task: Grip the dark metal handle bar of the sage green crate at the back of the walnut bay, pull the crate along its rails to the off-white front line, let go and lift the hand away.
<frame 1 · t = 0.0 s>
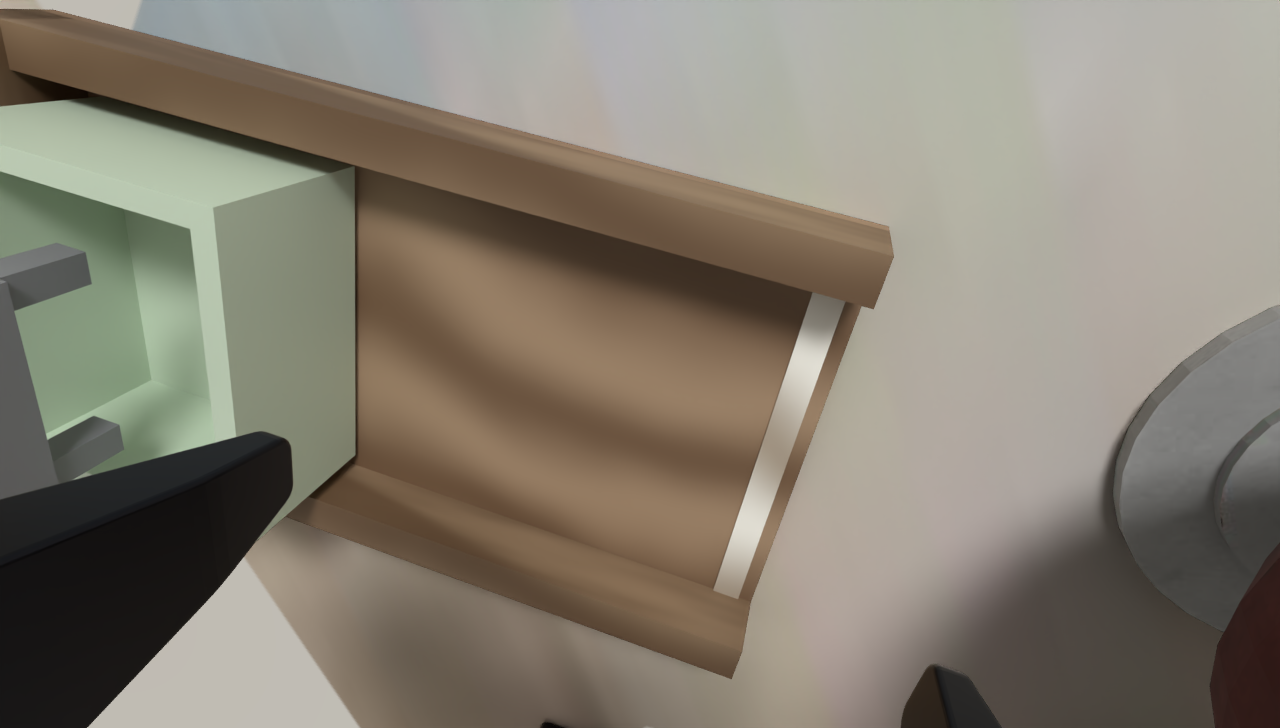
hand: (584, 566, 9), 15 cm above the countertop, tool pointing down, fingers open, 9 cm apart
bay: (391, 325, 27), on the countertop
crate: (121, 340, 23), point 6 cm above the countertop, slide at 15.0 cm
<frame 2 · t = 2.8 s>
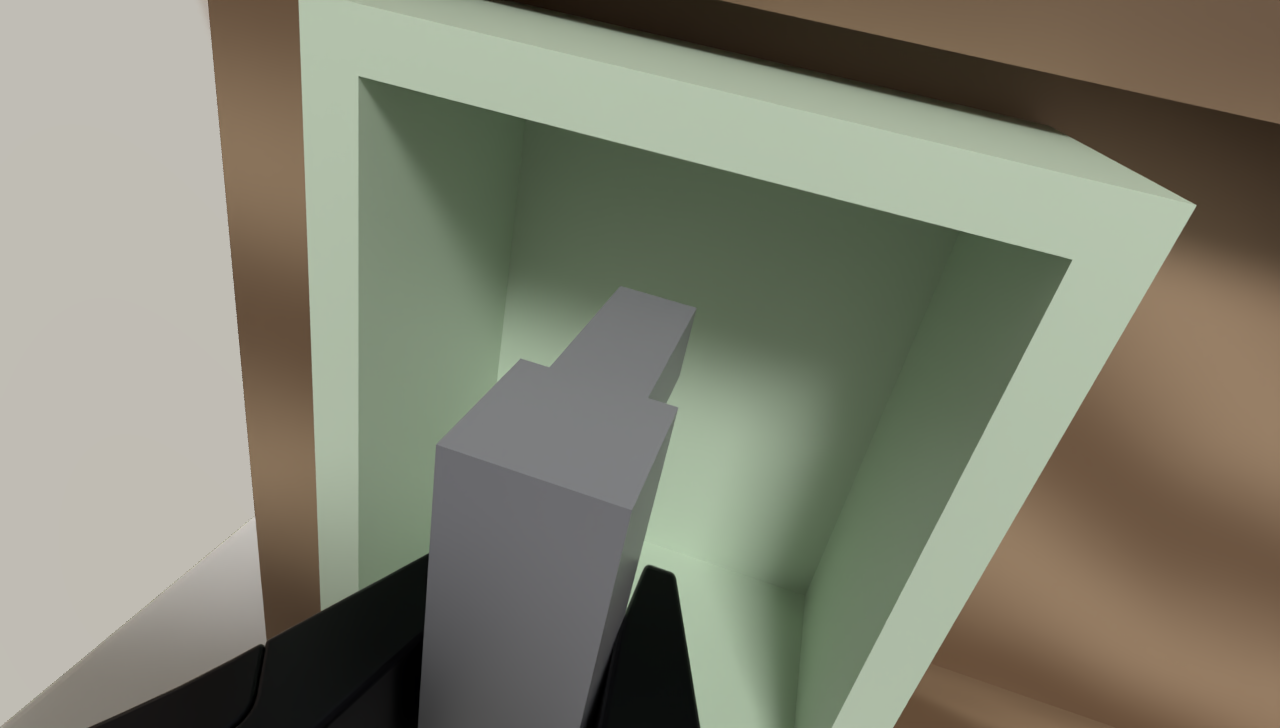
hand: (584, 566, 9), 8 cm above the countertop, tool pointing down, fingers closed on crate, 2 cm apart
milk carton: (332, 604, 25), on the countertop
bay: (960, 410, 16), on the countertop
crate: (629, 473, 11), point 6 cm above the countertop, slide at 15.0 cm, touching gripper
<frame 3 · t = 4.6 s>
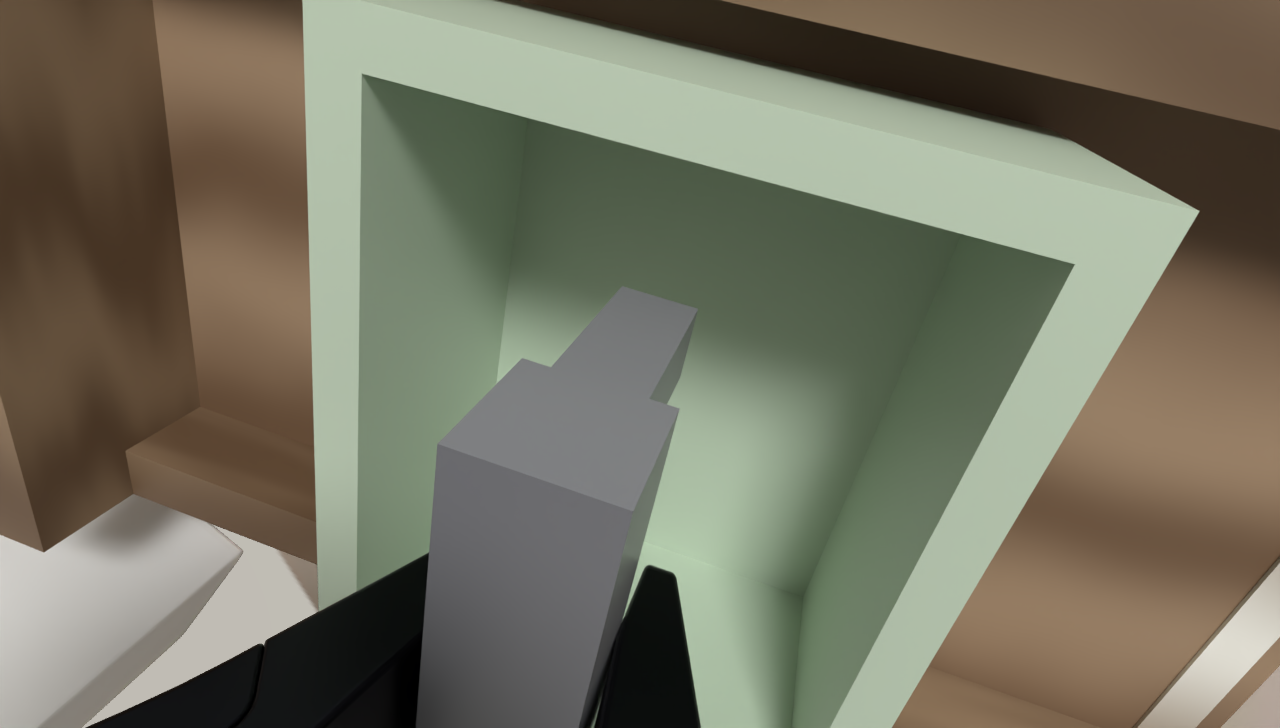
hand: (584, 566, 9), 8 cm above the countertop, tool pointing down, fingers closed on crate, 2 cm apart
milk carton: (141, 527, 26), on the countertop
bay: (626, 312, 17), on the countertop
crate: (628, 473, 11), point 6 cm above the countertop, slide at 7.2 cm, touching gripper
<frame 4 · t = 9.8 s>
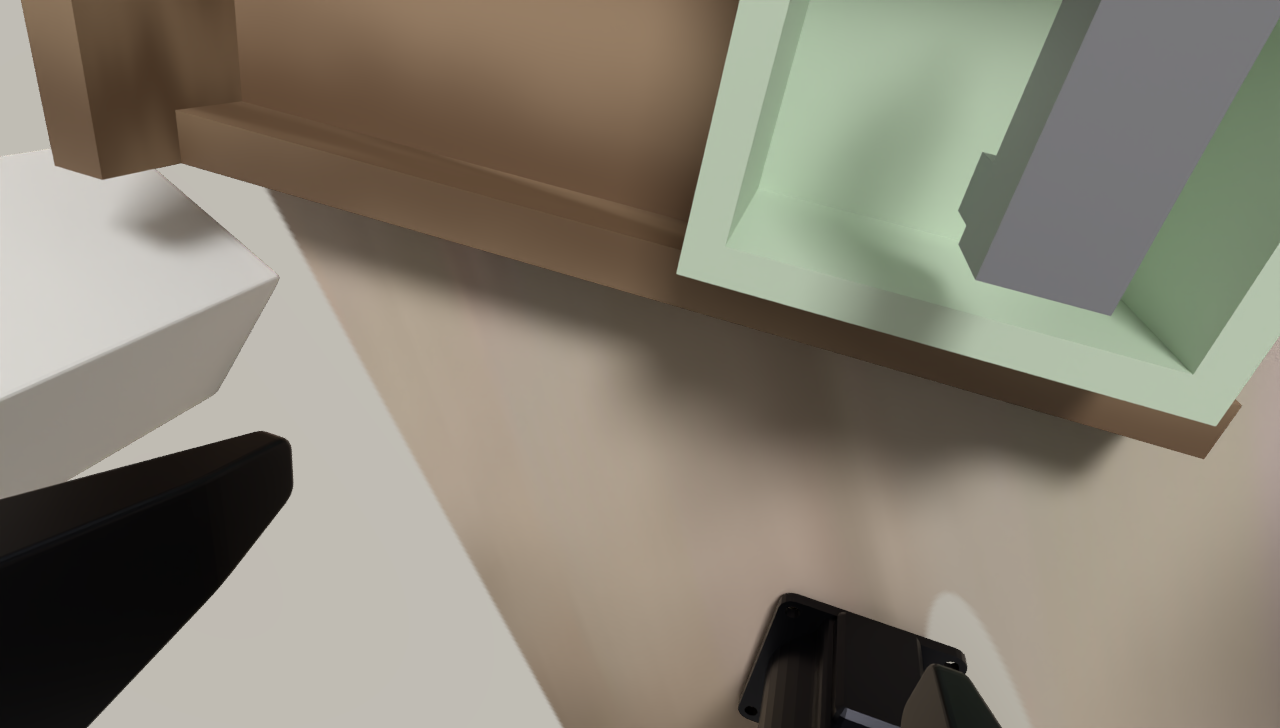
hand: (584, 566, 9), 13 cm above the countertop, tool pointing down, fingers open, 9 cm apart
milk carton: (179, 272, 27), on the countertop
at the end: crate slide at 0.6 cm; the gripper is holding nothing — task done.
